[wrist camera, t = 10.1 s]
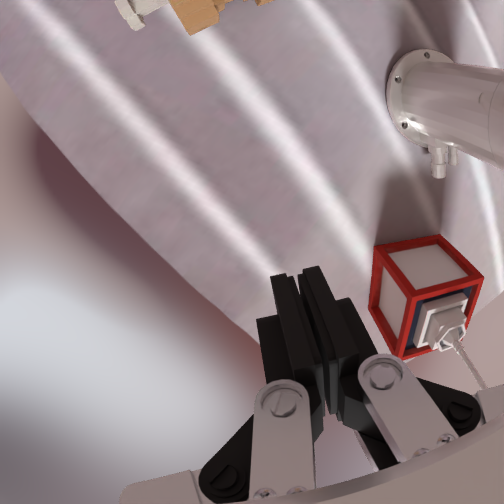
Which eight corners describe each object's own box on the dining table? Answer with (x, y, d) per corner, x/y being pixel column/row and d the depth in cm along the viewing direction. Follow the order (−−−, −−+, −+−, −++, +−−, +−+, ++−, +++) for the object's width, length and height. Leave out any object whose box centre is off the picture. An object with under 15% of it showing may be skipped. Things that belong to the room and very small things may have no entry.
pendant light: (367, 308, 48) (450, 481, 22) (373, 246, 42) (497, 436, 16) (428, 294, 48) (522, 439, 22) (439, 233, 42) (571, 383, 17)
